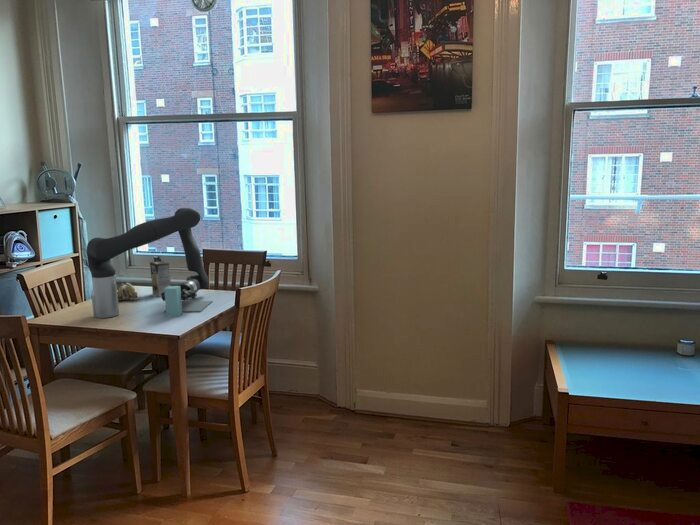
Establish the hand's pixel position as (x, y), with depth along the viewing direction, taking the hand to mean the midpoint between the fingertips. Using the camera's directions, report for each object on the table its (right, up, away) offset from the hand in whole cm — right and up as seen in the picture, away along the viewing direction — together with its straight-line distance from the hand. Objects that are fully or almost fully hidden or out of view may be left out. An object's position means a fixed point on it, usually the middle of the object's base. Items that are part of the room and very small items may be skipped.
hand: (173, 298), depth 233 cm
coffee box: (-18, -1, +39) cm, 43 cm away
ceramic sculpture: (-33, -3, +31) cm, 45 cm away
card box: (0, -7, +1) cm, 7 cm away
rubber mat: (+3, -5, +14) cm, 15 cm away
